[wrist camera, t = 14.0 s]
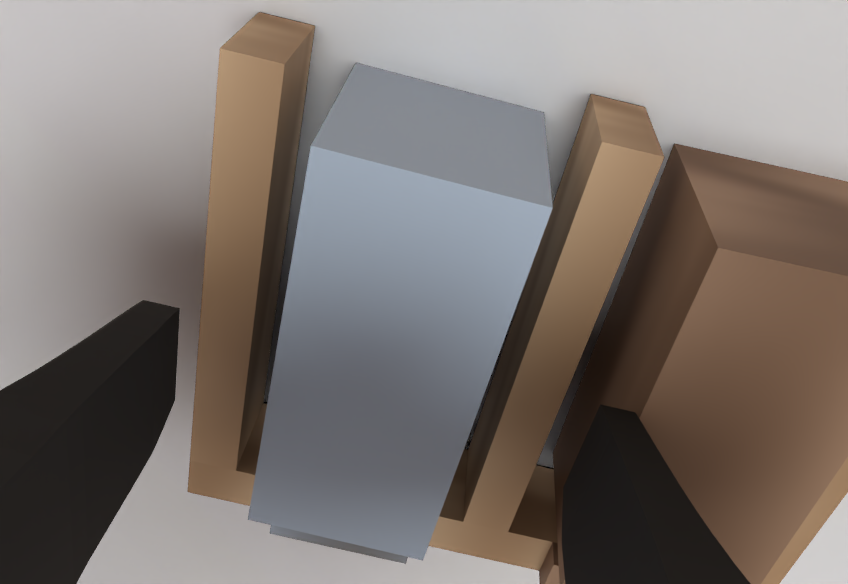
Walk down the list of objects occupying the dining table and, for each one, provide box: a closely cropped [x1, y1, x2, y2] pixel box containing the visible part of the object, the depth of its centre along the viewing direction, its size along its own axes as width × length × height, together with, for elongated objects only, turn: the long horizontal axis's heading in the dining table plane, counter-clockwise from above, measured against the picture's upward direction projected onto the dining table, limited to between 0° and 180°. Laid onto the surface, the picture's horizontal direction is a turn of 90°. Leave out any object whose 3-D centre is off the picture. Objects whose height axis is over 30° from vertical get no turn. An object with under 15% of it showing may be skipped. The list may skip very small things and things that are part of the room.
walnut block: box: [553, 144, 848, 584], centre depth 15 cm, size 4×8×4 cm, turn 169°
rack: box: [188, 12, 848, 584], centre depth 16 cm, size 13×10×3 cm
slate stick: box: [248, 63, 553, 560], centre depth 15 cm, size 4×8×4 cm, turn 167°
